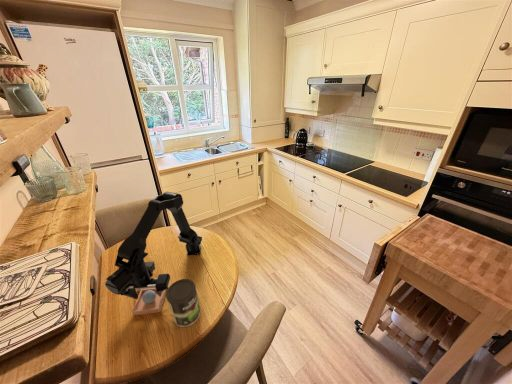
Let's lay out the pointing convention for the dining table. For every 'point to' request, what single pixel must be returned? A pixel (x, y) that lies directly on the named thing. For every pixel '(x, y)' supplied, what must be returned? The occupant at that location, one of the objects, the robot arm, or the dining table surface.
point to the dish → (148, 308)
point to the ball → (149, 297)
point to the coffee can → (183, 302)
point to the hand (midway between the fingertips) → (149, 297)
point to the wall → (147, 287)
